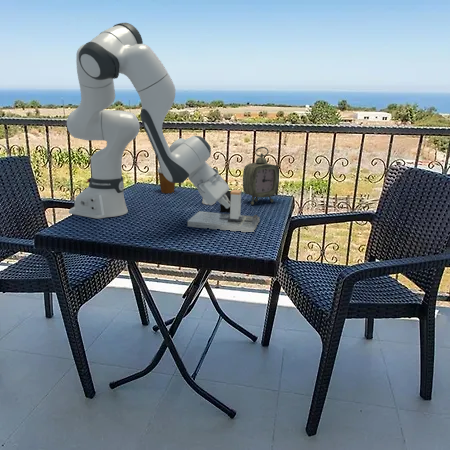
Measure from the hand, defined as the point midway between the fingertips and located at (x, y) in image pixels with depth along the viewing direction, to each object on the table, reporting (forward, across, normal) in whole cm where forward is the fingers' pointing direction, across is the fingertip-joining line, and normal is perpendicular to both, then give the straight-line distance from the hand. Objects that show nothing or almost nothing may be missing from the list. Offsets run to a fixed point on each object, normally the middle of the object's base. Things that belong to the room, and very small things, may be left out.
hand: (229, 206), depth 141 cm
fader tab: (+5, 0, +2) cm, 5 cm away
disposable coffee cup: (-24, +42, +34) cm, 59 cm away
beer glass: (-6, +28, +16) cm, 33 cm away
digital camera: (+2, +21, +9) cm, 23 cm away
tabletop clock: (+8, +37, +1) cm, 38 cm away
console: (+4, 0, +6) cm, 7 cm away
